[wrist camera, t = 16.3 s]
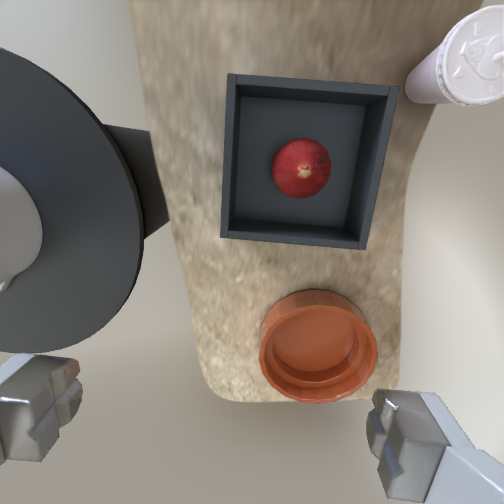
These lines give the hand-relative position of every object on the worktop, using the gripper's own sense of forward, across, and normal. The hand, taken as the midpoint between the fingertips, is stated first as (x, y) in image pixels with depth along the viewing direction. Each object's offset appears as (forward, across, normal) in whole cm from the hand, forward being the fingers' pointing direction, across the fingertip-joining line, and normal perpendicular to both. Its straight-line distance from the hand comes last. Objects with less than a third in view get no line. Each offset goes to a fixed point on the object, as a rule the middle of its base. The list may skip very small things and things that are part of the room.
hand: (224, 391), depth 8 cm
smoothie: (+29, -16, -14) cm, 36 cm away
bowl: (+29, -9, +17) cm, 35 cm away
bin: (+29, -4, -5) cm, 30 cm away
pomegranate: (+29, -4, -5) cm, 29 cm away
